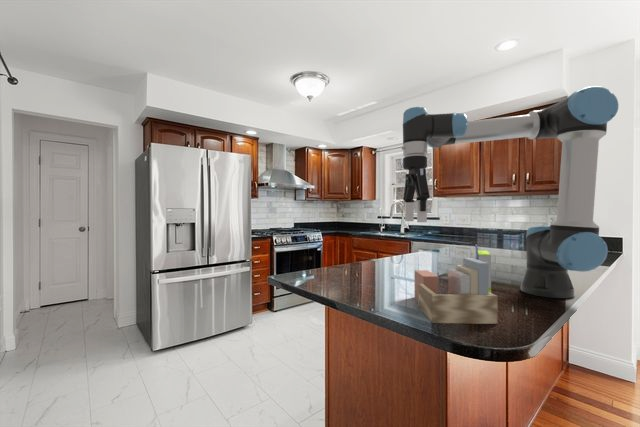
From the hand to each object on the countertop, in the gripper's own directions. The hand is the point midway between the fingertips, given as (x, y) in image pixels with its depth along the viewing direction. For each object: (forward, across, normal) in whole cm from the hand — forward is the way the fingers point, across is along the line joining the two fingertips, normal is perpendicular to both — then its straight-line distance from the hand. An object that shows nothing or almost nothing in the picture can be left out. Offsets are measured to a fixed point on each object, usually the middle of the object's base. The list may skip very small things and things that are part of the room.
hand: (415, 221), depth 103 cm
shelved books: (+25, +18, +10) cm, 32 cm away
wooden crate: (+25, +17, +6) cm, 31 cm away
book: (+25, +4, +2) cm, 25 cm away
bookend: (+25, +18, +6) cm, 31 cm away
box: (+25, +1, +21) cm, 33 cm away
